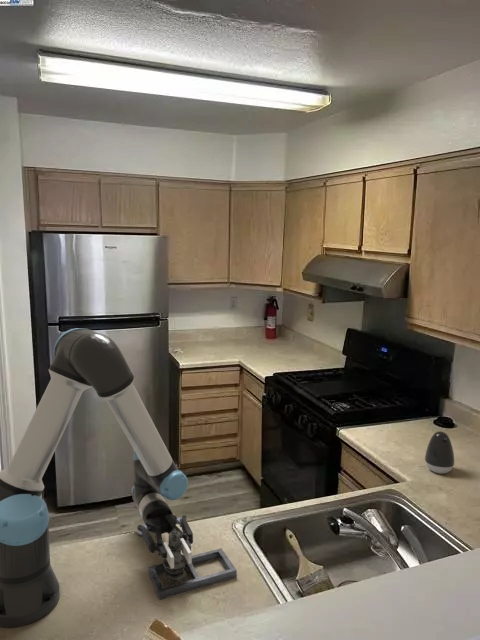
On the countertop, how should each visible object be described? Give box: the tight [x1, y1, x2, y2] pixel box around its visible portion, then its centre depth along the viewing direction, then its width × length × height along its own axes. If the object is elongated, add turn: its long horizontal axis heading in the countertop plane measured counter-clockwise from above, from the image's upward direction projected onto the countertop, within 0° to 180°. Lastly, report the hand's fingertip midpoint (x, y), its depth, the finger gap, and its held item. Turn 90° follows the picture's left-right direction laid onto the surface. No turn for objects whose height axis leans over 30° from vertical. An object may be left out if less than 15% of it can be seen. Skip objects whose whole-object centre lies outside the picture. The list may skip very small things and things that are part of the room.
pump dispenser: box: [424, 430, 456, 474], centre depth 180 cm, size 10×10×15 cm
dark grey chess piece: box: [162, 528, 187, 583], centre depth 117 cm, size 6×6×12 cm
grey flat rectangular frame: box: [148, 547, 238, 601], centre depth 119 cm, size 20×10×2 cm, turn 114°
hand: (181, 560), depth 112 cm, fingers closed on dark grey chess piece, 3 cm apart
